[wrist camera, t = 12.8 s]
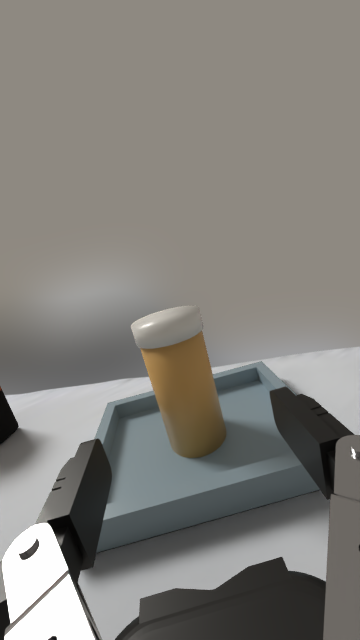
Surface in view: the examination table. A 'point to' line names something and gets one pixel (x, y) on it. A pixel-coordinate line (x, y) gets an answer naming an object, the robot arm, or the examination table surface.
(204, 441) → the pill bottle
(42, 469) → the examination table surface
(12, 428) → the battery
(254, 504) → the tray
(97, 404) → the examination table surface
